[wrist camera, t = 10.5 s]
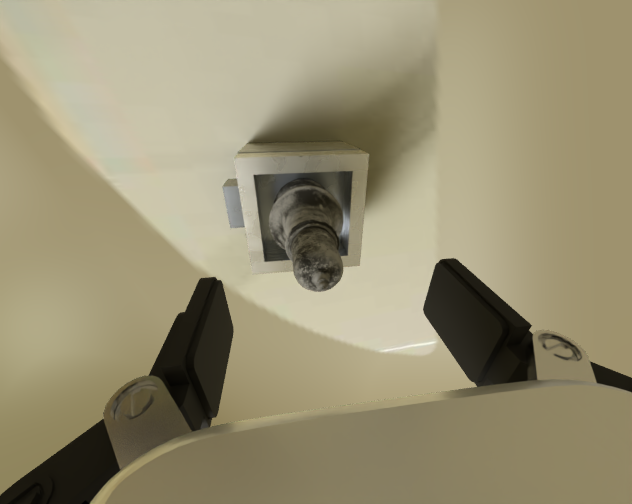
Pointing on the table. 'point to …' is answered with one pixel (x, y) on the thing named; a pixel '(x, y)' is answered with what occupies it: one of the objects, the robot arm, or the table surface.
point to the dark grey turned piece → (309, 232)
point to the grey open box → (285, 166)
